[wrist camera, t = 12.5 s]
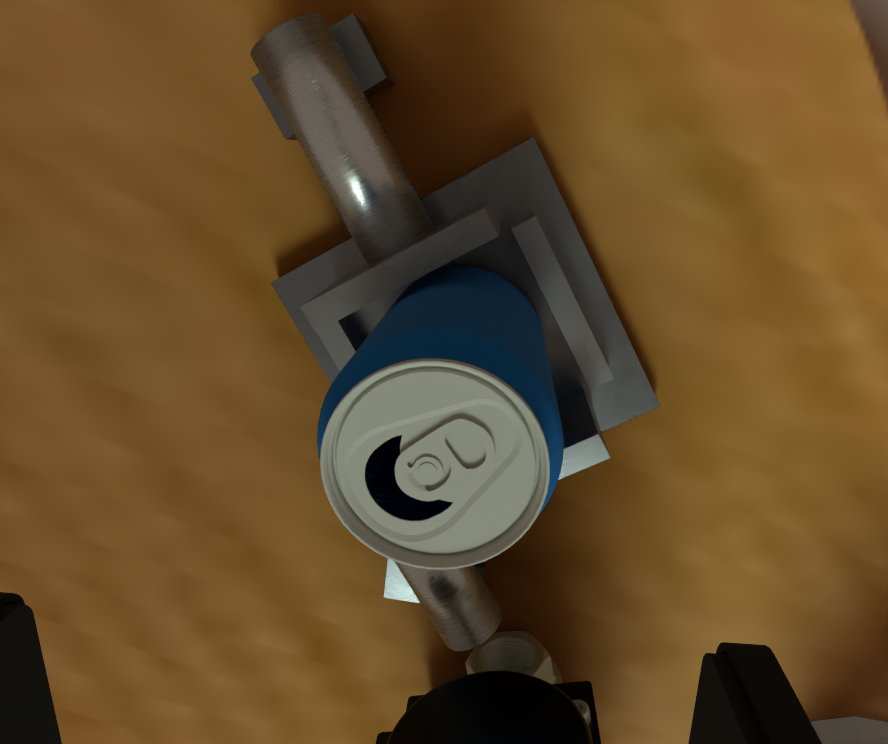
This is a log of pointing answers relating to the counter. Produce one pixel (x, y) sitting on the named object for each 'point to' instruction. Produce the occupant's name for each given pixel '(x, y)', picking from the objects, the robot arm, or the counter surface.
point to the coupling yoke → (439, 265)
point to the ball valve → (502, 701)
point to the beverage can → (444, 424)
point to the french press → (851, 731)
